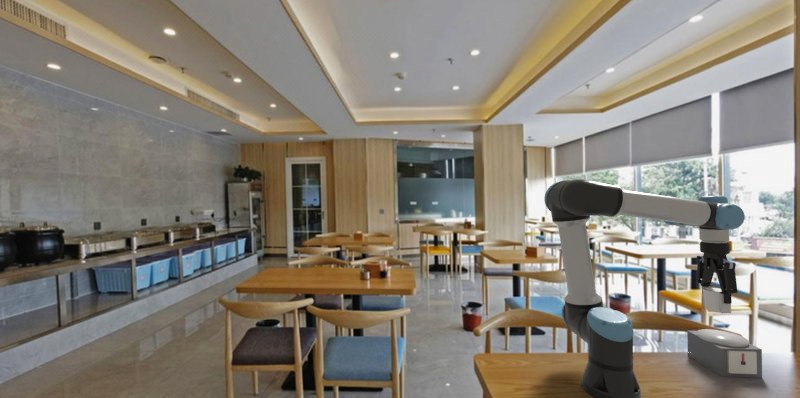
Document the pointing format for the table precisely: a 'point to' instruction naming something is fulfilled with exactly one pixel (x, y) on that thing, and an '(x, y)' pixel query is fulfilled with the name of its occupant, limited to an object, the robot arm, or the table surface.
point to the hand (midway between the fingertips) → (716, 309)
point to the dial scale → (725, 353)
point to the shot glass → (712, 298)
